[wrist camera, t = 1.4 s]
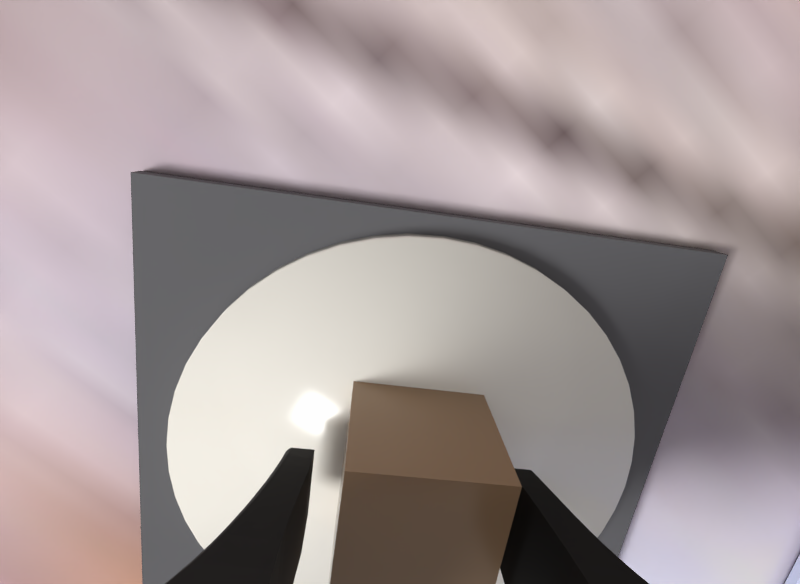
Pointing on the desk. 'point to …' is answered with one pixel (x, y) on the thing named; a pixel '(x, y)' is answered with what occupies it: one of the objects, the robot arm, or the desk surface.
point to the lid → (402, 407)
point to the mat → (347, 220)
